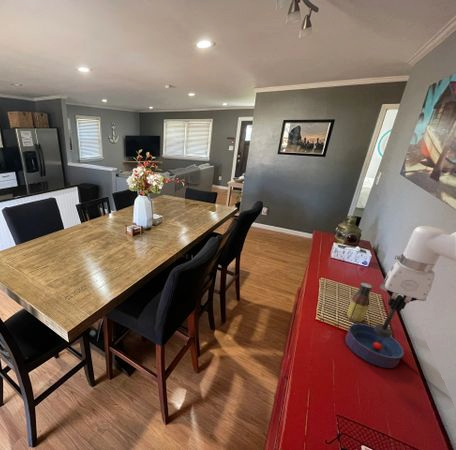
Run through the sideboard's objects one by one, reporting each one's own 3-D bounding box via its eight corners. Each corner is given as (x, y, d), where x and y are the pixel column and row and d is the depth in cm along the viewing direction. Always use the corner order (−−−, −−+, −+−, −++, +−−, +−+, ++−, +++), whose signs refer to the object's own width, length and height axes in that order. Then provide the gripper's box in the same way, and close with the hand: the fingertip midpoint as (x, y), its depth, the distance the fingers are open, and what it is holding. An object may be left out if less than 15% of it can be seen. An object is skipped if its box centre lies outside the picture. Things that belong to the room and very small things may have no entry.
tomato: (381, 348, 100) (384, 351, 97) (373, 349, 101) (375, 351, 98) (379, 341, 101) (382, 343, 98) (370, 341, 102) (373, 343, 99)
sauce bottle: (364, 322, 115) (380, 288, 107) (356, 325, 113) (371, 291, 105) (350, 313, 120) (364, 280, 113) (342, 316, 118) (355, 282, 111)
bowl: (408, 365, 94) (415, 354, 92) (374, 372, 91) (380, 361, 88) (365, 331, 109) (370, 321, 107) (335, 336, 106) (339, 326, 104)
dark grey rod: (393, 337, 88) (413, 299, 81) (383, 338, 87) (402, 300, 80) (380, 327, 92) (398, 290, 85) (370, 328, 91) (388, 291, 85)
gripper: (387, 260, 79) (367, 305, 86) (455, 276, 71) (428, 324, 78) (383, 252, 85) (365, 294, 92) (446, 266, 77) (421, 311, 84)
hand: (394, 307), depth 85 cm, fingers closed on dark grey rod, 1 cm apart
